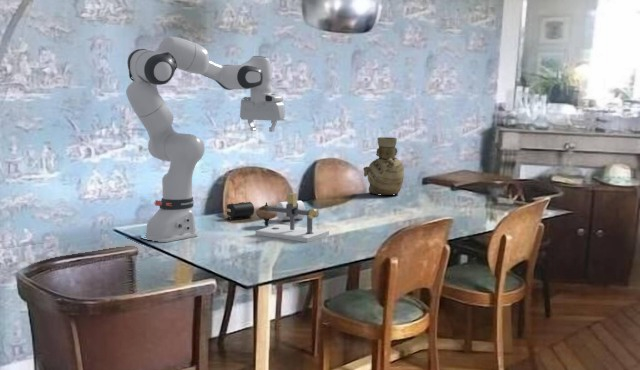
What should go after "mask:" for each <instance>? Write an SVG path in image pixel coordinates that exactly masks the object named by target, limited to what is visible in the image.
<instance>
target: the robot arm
mask: <svg viewBox="0 0 640 370" xmlns="http://www.w3.org/2000/svg"><path fill="white" fill-rule="evenodd" d="M271 63H272V62H271V60H270V59H269V58H268V57H266V56H262V55H261V56H259V55H253V56H251V57H250V58H249V60H247V61H246V62H244V63H241V64H223V65H221V64H219V63H217V62H214V61H212V60H210V55H209V51H208V50H207V49H206V48H205V47H203V46H202V45H201V44H199V43H196V42H194V41H191V40H188V39H185V38H182V37H179V36H178V37H177V36H169V35H168V36H166V37H163V38H162V40H161V41H160V42H159V44H158V48H157V49H156V50H152V49H151V50H149V49H147V48H146V49H145V48H139V49H135V50H133V51H132V52H131V53H130V54H129V55H128V57H127V69H128V77H129V79H130V80H132V82H131V83H130V84H129V85H128V86H127V88H126V91H125V93H126V97H127V99H128V102H129V105H130V106H131V108H132V110H133V112H134V114H136V116H137V118H138V120H139V121H140V123H141V124H142V125H143V127H144V128H145V131H146V132H147V135H148V137H149V140H148V143H147V148H148V152H149V154H150V155H151V156H152V157H153V158H155V159H157V160H160V161H163V162H165V161H166V162H170V163H169V168H168V171H167V173H165V174H164V175H163V177H162V181H161V183H162V184H161V186H162V187H161V188H162V197H161V200H157V199H156V200H155V201H154V202H153V203H154V205H155V206H159V209H158V210H157V211H156V212H155V213H154V215H152V217H150V219H149V220H148V221H147V223H146V232H145V234H146V235H145V236H146V237H144V238H147V239H149V240H154V241H158V242H157V243H167V242H168V243H169V242H175V241H178V240H184V239H189V238H195V237H198V236H199V235H198V231H197V227H196V221H195V214H194V210H193V207H194V197H193V174H194V171H195V168H196V165H197V164H198V162H199V161H200V160H202V158H203V156H204V154H205V144H204V142H203V140H202V139H201V137H198V136H196V135H193V134H190V133H181V132H180V133H178V132H176V131H175V130H174V128H173V126H172V124H173V121H174V114H173V113H172V112H171V110H170V108H169V107H168V105H167V104H166V102H165V100H164V99H163V97H162V96H161V94H160V93H159V90H158V87H157V86H162V85H165V84H168V83H169V82H170V81H171V80H172V79H173V77H174V75H175V72H176V71H177V69H178V70H181V71H183V72H187V73H191V74H195V75H197V74H199V75H201V76H204V77H207V78H209V79H211V80H212V81H215V82H216V83H217V84H218V85H219V86H220V87H221V88H222V89H224V90H227V91H231V90H249V89H250V96H243V98H242V99H241V100H240V110H239V118H240V119H241V121H242V120H244V121H247V124H248V126H249V129H250V131H251V132H255V131H256V130H257V129H256V128H257V127H256V126H255V125H254V121H270V123H271V125H270V127H269V128H268V129H269V130H268V131H269V132H270V133H274V132H275V128H276V126H277V123H278V122H279V121H283V120H285V118H286V117H285V116H286V115H285V112H286V110H285V105H284V103H283V102H284V96H283V95H281V94H278V93H275V92H274V91H273V86H272V80H273V70H272V64H271ZM154 241H153V242H154Z"/></svg>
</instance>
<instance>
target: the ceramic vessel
mask: <svg viewBox="0 0 640 370" xmlns="http://www.w3.org/2000/svg"><path fill="white" fill-rule="evenodd" d="M397 141H398V140H397V138H396V137H390V136H389V137H383V136H381V137H377V145H378V148H376V153H375V155H376V157H378V158H376V159H375V160H373V161H371V162H370V164H369V166H364V167H363V176H364V177H367V180H368V183H369V186H368V192H369V194H371V193H373V194H372V195H374V194H381V195H393V194H397V195H398V194H399V193H400V191H401V189H402V187H403V184H404V179H405V170H404V169H405V168H404V165H403V163H402V161H401V160H400V159H399V158H397V157H396V156H397V154H398V148H397V147H396V145H397V143H398V142H397Z"/></svg>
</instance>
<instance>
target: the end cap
mask: <svg viewBox="0 0 640 370" xmlns="http://www.w3.org/2000/svg"><path fill="white" fill-rule="evenodd" d="M226 209H228V210H230V211H226V215H227V219H228V218H231V219H230V220H232V219H233V220H240V219H246V218H247V219H248V218H251V217H252V216H253V215H254V213H255V206H254V204H253V202H251V201H246V202H244V201H242V202H238V203H228V204H227V205H226ZM239 218H240V219H239Z"/></svg>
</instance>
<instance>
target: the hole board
mask: <svg viewBox="0 0 640 370" xmlns="http://www.w3.org/2000/svg"><path fill="white" fill-rule="evenodd" d="M255 235H256V236H262V237H271V238H275V239H283V240H291V241H296V242H304V243H309V242H312V241H315V240H318V239H320V238H324V237H327V236H329V235H330V230H323V229H318V228H317V229H316V228H312V233H307V227H300V226H295V225H294V230H290V225H287V224H274V225H272V226H266V227H264V228H260V229H258V230H255Z"/></svg>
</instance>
